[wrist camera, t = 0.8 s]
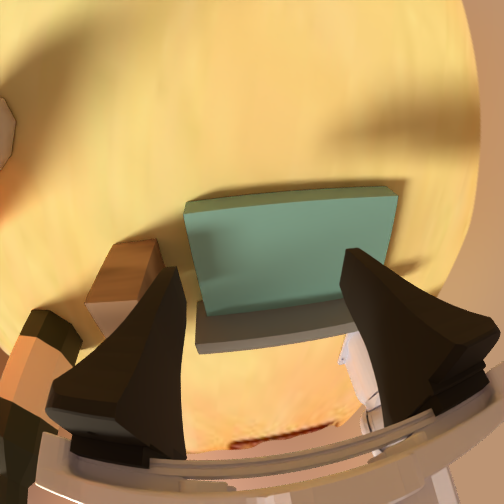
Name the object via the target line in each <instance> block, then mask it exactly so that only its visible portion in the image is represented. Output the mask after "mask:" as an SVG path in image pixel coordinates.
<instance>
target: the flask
mask: <svg viewBox="0 0 504 504" xmlns="http://www.w3.org/2000/svg"><path fill="white" fill-rule="evenodd" d="M15 125H16V121H15V119H14V117H13V115H12V113H11V111H10V110H9V108H8V106H7V104H6V102H5V100H4V98H0V170H1V169H2V167H3V166H4V164H5V163H6V161H7V160H8V158H9V157H10V155H11V153H12V145H13V137H14V131H15Z"/></svg>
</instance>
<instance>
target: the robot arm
mask: <svg viewBox="0 0 504 504" xmlns="http://www.w3.org/2000/svg"><path fill="white" fill-rule="evenodd" d="M339 286H340V289H341V292H342V295H343V298H344V301H345V304H346V306H347V308H348V310H349V312H350V314H351V316H352V318H353V320H354V322H355V324H356V327H357V329H358V331H356V332H352V333H347V334H346V337H345V340H344V343H343V347H342V350H341V353H340V356H339V359H338V364H339V365H342V364H345V366H346V368H347V371H348V374H349V377H350V379H351V382H352V385H353V388H354V391H355V394H356V396H357V398H358V400H359V401H360V402H361V403H362V404H364V405H365V406H366V410H364V411H363V412H362V415H361V418H360V427H361V431H362V436H359V437H355V438H352V439H348V440H345V441H342V442H338V443H334V444H330V445H326V446H321V447H317V448H312V449H308V450H303V451H297V452H292V453H286V454H280V455H272V456H264V457H255V458H245V459H232V460H198V461H197V460H186V459H187V456H186V449H185V441H184V433H183V422H182V409H181V362H182V354H183V346H184V338H185V329H186V305H187V302H186V298H185V295H184V291H183V288H182V284H181V281H180V277H179V273H178V270H177V266H175V267H165V268H162V269H161V271H160V272H159V273H158V275H157V276H156V278H155V279H154V281H153V282H152V284H151V285H150V286H149V288H148V289H147V291H146V292H145V293H144V295H143V296H142V298H141V299H140V300H139V302H138V303H137V304H136V306H135V307H134V308H133V310H132V311H131V312H130V313H129V315H128V316H127V317H126V318H125V320H124V321H123V322H122V323H121V324H120V325H119V326H118V328H117V329H116V330H115V331H114V332H113V333H112V334H111V335H110V336H109V337H108V338H107V339H106V340H105V341H104V342H103V343H101V344H100V345H99V346H98V347H97V348H96V349H95V350H94V351H93V352H92V353H90V354H89V355H88V356H87V357H86V358H84V359H83V360H82V361H81V362H79V363H78V364H77V365H75V366H74V367H73V368H71V369H70V370H68V371H67V372H65V373H64V374H62V375H61V376H59V377H58V378H56V379H54V380H53V382H52V385H51V388H50V392H49V395H48V399H47V403H46V406H45V412H46V414H47V415H48V417H49V418H50V419H51V420H53V421H54V422H55V423H57V424H58V425H60V426H61V427H62V428H64V429H65V430H67V431H68V432H70V433H71V434H72V440H69V439H67V438H64V437H61V436H57V435H54V434H51V433H47V432H43V434H42V439H41V444H40V450H39V456H38V463H37V471H36V481H35V484H36V485H37V486H39V487H41V488H43V489H45V490H48V491H50V492H52V493H54V494H57V495H59V496H61V497H64V498H67V499H69V500H71V501H74V502H76V503H79V504H460V500H459V497H458V494H457V490H456V487H455V484H454V481H453V477H452V474H451V471H450V469H449V466H448V465H450V464H451V463H453V462H454V461H456V460H457V459H458V458H460V457H461V456H463V455H464V454H465V453H467V452H468V451H469V450H471V449H472V448H473V447H475V446H476V445H477V444H478V443H480V442H481V441H482V440H483V439H484V438H486V437H487V436H488V435H489V434H490V433H492V432H493V431H494V430H495V429H496V428H497V427H498V426H499V425H500V424H501V423H502V422H504V361H502V362H501V363H500V364H498V365H497V366H495V367H494V368H492V369H491V370H489V371H488V372H487V373H486V374H485V372H484V370H483V369H484V368H485V367H486V364H485V362H484V361H483V359H484V358H485V357H486V356H487V354H488V353H489V352H490V351H491V349H492V348H493V347H494V345H495V344H496V343H497V341H498V339H499V337H500V330H499V328H498V327H497V325H496V324H495V323H494V321H493V320H492V319H491V318H490V317H487V316H483V315H479V314H476V313H472V312H469V311H467V310H464V309H461V308H458V307H456V306H453V305H451V304H449V303H446V302H444V301H442V300H440V299H438V298H436V297H434V296H432V295H430V294H428V293H426V292H425V291H423V290H421V289H419V288H418V287H416V286H414V285H413V284H411V283H410V282H408V281H406V280H405V279H403V278H402V277H400V276H399V275H397V274H396V273H394V272H393V271H392V270H390V269H389V268H387V267H386V266H384V265H383V264H382V263H380V262H379V261H377V260H376V259H375V258H373V257H372V256H370V255H369V254H367V253H366V252H364V251H363V250H361V249H360V248H349V249H346V250H345V256H344V261H343V267H342V272H341V277H340V283H339ZM369 452H372V453H373V456H374V457H373V458H372V459H370V460H369V461H368V464H367V465H363V466H360V467H357V468H354V469H350V470H347V471H344V472H340V473H336V474H332V475H329V476H325V477H320V478H316V479H312V480H307V481H303V482H298V483H292V484H288V485H281V486H276V487H269V488H261V489H253V490H244V491H236V488H235V487H233V486H228V484H227V483H226V482H212V481H197V480H200V479H201V480H215V479H216V480H217V479H239V478H252V477H261V476H270V475H277V474H284V473H290V472H296V471H301V470H306V469H311V468H316V467H320V466H324V465H328V464H332V463H336V462H340V461H343V460H347V459H350V458H353V457H357V456H359V455H363V454H366V453H369ZM187 479H195V480H187Z"/></svg>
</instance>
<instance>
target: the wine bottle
mask: <svg viewBox="0 0 504 504" xmlns="http://www.w3.org/2000/svg"><path fill="white" fill-rule="evenodd" d="M82 342H83V341H82V339H81V338H80V336H79V335H78V333H77V332H76V330H75V329H74V327H73V326H72V324H71V323H69V322H67V321H66V320H64V319H62V318H61V317H59V316H58V315H56V314H54V313H53V312H51V311H50V310H32V311H31V313H30V315H29V317H28V319H27V321H26V323H25V325H24V327H23V329H22V331H21V333H20V335H19V337H18V339H17V341H16V343H15V345H14V348H13V350H12V352H11V355H10V357H9V360H8V362H7V364H6V367H5V369H4V372H3V375H2V377H1V380H0V504H27V496H28V488H29V486H31V485H32V484H33V483H34V482H35V481H36V471H37V463H38V456H39V450H40V444H41V439H42V434H43V432H47V433H51V434H54V435H57V434H58V430H59V425H58V424H57V423H55V422H54V421H53V420H51V419H50V418H49V417H48V415H47V414H46V412H45V406H46V403H47V399H48V395H49V392H50V388H51V385H52V382H53V380H54V379H56V378H58V377H59V376H61V375H62V374H64V373H65V372H67V371H68V370H70V369H71V368H73V367H74V366H75V363H76V360H77V357H78V353H79V350H80V347H81V344H82Z"/></svg>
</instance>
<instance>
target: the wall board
mask: <svg viewBox="0 0 504 504" xmlns="http://www.w3.org/2000/svg"><path fill="white" fill-rule="evenodd" d="M397 202H398V195H397V194H395V193H394V192H393V191H392V190H390V189H389V188H388V187H386V186H372V187H345V188H326V189H310V190H296V191H283V192H271V193H261V194H250V195H241V196H232V197H223V198H215V199H207V200H199V201H191V202H186V205H185V209H184V213H183V216H184V221H185V226H186V230H187V235H188V240H189V244H190V249H191V253H192V257H193V262H194V266H195V270H196V274H197V278H198V282H199V286H200V290H201V294H202V298H203V301H200V302H197V313H196V333H195V346H196V348H197V351H198V353H199V354H211V353H223V352H233V351H242V350H251V349H259V348H267V347H274V346H281V345H288V344H294V343H300V342H306V341H312V340H317V339H323V338H328V337H333V336H338V335H343V334H347V333H352V332H356V331H358V329H357V327H356V324H355V322H354V320H353V318H352V316H351V314H350V312H349V310H348V308H347V306H346V304H345V301H344V298H343V295H342V292H341V289H340V286H339V283H340V277H341V272H342V267H343V261H344V256H345V250H346V249H349V248H360V249H361V250H363V251H364V252H366V253H367V254H369V255H370V256H372V257H373V258H375V259H376V260H377V261H379V262H380V263H382V264H383V265H384V261H385V257H386V253H387V249H388V245H389V241H390V237H391V232H392V227H393V223H394V218H395V212H396V207H397Z"/></svg>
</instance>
